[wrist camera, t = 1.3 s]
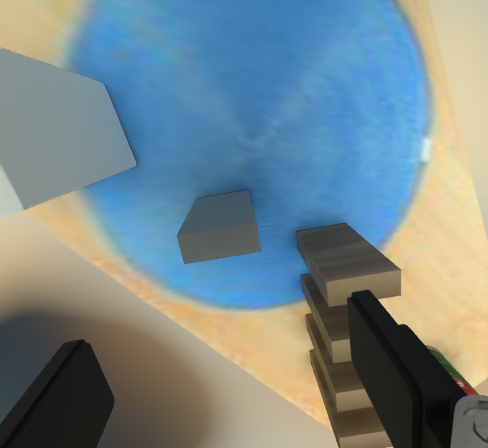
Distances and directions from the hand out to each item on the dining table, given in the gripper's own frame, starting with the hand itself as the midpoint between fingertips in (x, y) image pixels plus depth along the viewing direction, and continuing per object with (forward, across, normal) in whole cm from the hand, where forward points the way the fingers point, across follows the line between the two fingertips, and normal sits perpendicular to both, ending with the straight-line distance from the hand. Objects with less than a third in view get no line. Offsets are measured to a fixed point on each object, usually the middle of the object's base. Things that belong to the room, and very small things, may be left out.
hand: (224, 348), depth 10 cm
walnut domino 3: (+18, -8, +15) cm, 25 cm away
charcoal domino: (+18, 0, 0) cm, 19 cm away
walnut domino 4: (+18, -8, +20) cm, 28 cm away
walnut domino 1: (+18, -8, +5) cm, 21 cm away
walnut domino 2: (+18, -8, +10) cm, 22 cm away
